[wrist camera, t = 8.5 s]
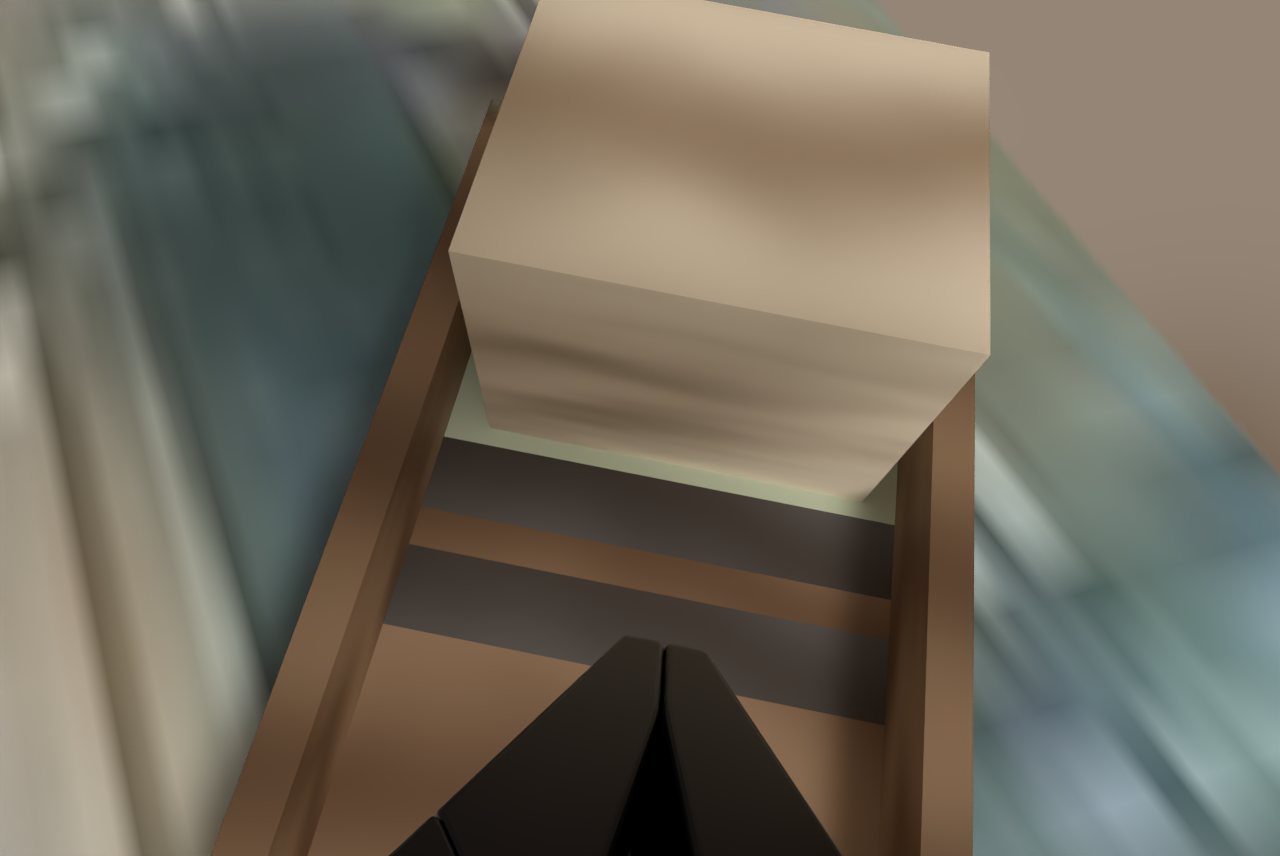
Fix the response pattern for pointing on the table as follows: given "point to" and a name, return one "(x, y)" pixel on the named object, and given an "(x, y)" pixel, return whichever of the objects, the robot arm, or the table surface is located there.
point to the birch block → (730, 240)
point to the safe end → (474, 427)
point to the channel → (609, 620)
